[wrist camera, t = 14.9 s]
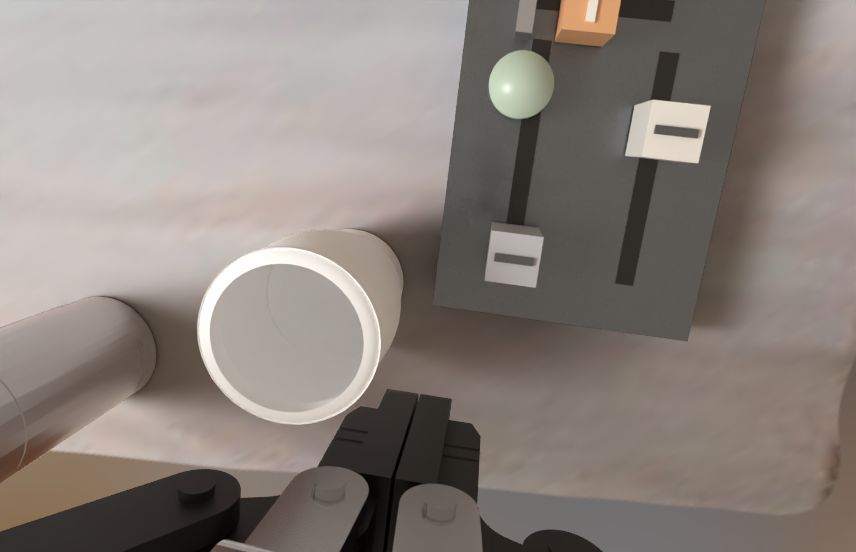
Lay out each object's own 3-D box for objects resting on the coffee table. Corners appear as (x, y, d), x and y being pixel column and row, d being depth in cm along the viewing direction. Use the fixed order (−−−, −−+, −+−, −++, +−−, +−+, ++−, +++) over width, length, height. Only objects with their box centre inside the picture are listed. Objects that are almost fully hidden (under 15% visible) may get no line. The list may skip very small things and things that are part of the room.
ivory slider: (625, 156, 38) (642, 156, 33) (634, 105, 37) (653, 99, 32) (675, 161, 37) (699, 163, 33) (685, 110, 36) (711, 105, 32)
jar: (392, 197, 44) (341, 221, 30) (434, 320, 46) (406, 400, 31) (269, 239, 46) (165, 280, 32) (314, 356, 48) (235, 446, 33)
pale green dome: (485, 116, 38) (484, 114, 36) (493, 52, 37) (493, 47, 35) (545, 122, 38) (548, 121, 36) (555, 58, 37) (559, 53, 35)
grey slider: (485, 266, 40) (484, 281, 36) (491, 221, 39) (491, 230, 35) (531, 272, 40) (535, 288, 35) (538, 227, 39) (544, 237, 35)
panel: (437, 291, 45) (428, 314, 39) (481, -71, 39) (479, -112, 33) (670, 324, 44) (699, 353, 38) (752, -48, 38) (802, -87, 32)
